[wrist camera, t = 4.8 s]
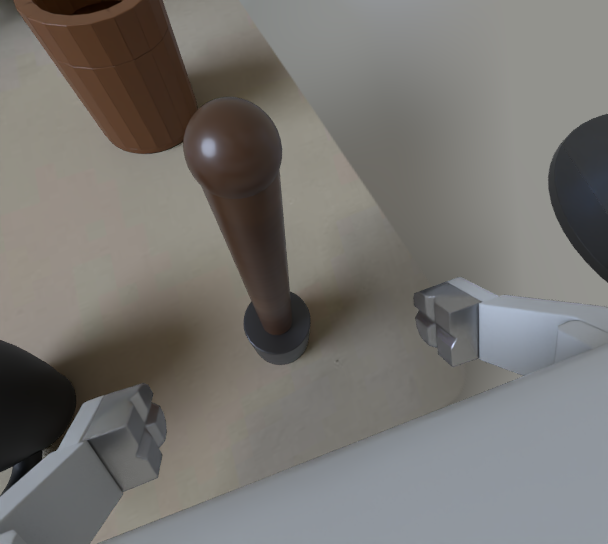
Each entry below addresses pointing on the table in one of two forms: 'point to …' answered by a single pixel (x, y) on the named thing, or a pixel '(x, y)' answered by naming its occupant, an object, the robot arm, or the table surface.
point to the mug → (30, 409)
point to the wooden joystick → (250, 217)
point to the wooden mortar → (119, 66)
